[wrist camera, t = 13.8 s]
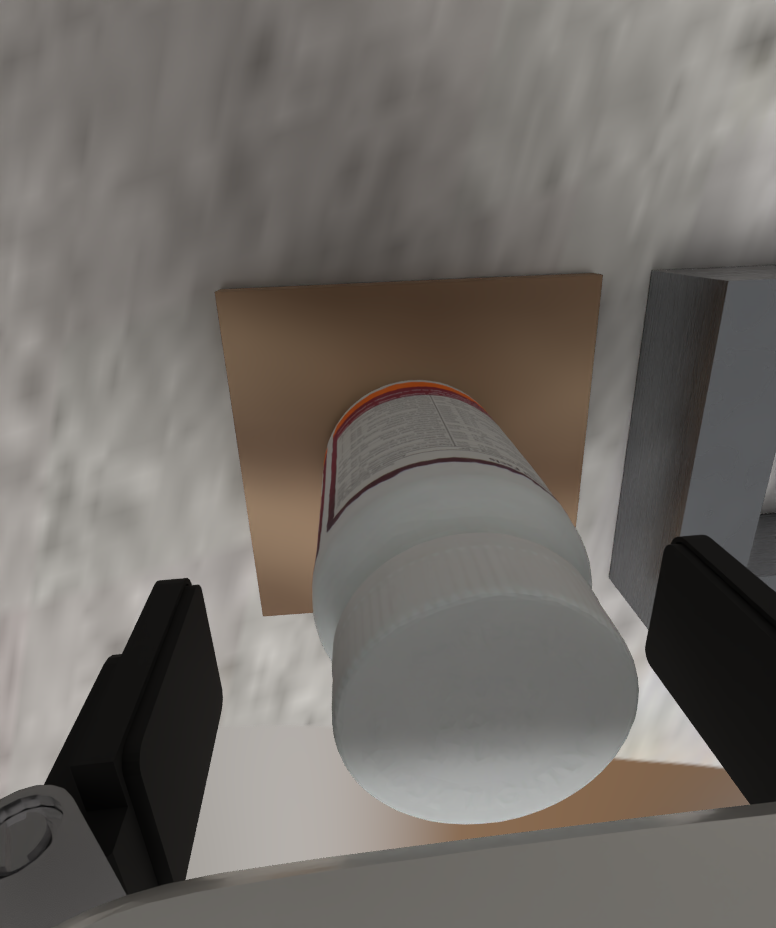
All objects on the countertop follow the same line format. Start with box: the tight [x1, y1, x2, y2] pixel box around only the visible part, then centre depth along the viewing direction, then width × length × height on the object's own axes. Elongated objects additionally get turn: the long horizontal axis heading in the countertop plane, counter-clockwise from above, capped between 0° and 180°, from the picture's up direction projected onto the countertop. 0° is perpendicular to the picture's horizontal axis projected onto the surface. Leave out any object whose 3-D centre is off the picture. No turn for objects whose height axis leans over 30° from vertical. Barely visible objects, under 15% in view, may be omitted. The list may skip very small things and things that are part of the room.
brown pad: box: [215, 273, 603, 616], centre depth 20 cm, size 12×12×1 cm
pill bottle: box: [312, 380, 639, 824], centre depth 14 cm, size 6×6×11 cm
